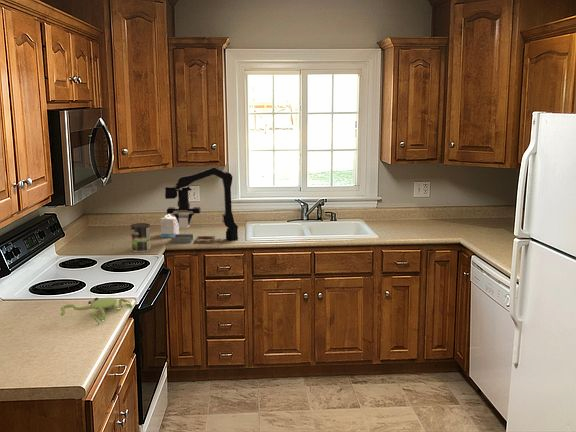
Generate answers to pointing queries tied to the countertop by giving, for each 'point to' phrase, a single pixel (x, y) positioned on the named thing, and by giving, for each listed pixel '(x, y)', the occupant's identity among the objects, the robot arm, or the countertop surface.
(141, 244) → the coffee can
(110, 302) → the figurine
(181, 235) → the grey drawer cabinet
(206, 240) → the walnut tray
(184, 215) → the grey-fronted drawer box
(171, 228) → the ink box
